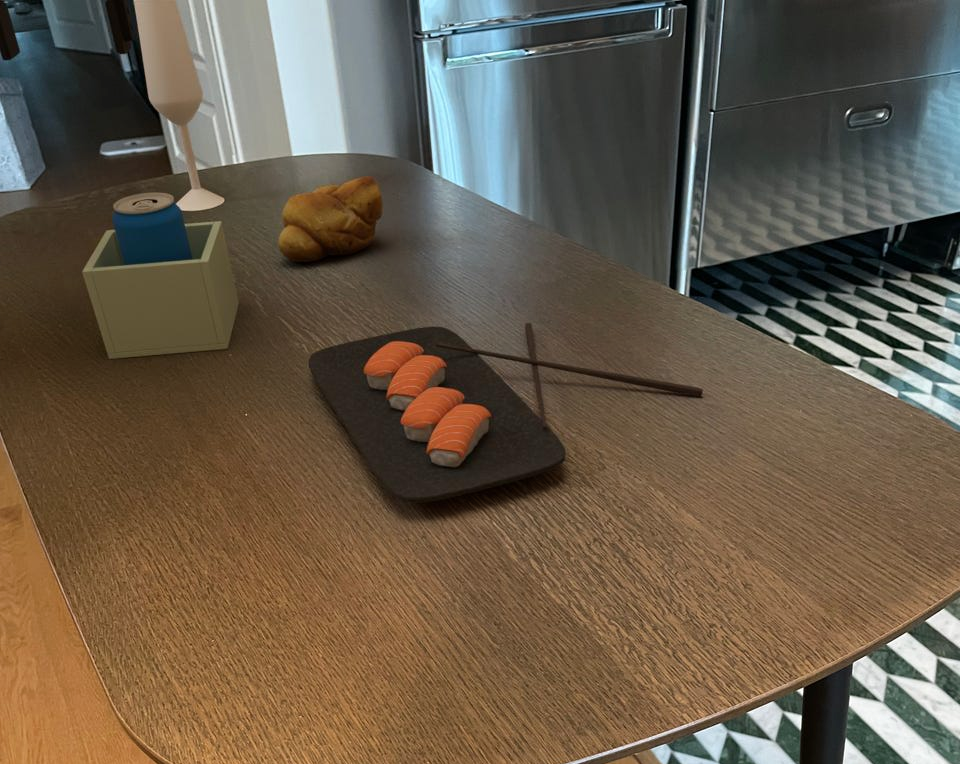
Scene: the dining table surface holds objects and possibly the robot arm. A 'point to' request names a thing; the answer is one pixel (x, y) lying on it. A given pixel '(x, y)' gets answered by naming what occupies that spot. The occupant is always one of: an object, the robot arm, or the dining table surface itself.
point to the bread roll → (331, 220)
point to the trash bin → (164, 297)
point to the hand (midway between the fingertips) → (68, 54)
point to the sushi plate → (443, 412)
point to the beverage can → (150, 229)
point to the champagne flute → (173, 83)
